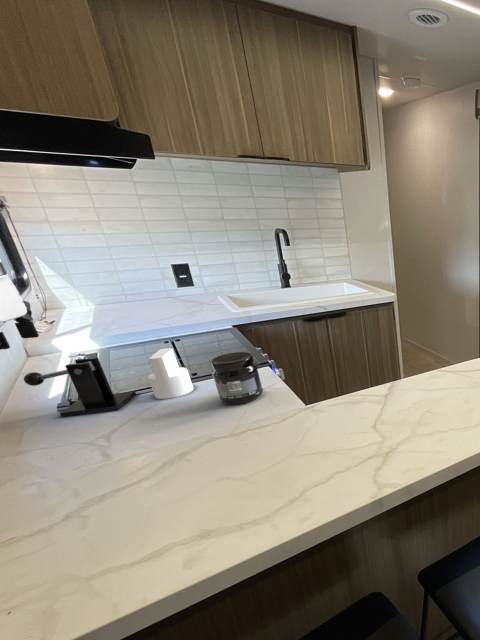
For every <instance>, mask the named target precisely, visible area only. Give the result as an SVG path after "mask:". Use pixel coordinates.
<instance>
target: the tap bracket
mask: <svg viewBox="0 0 480 640" xmlns="http://www.w3.org/2000/svg"><path fill="white" fill-rule="evenodd" d="M88 361H91V362H92V364H93V366H94V367H95V370H93V371H92V369H91V366H90V364H89V362H88ZM74 362H75V363H68V364H66V365H65V368H66V369H65V370H67V371H68V373H69V374H68V375H69V378H70V379H71V381H72V384H73V386H74V388H75V391H76V393H77V395H78V398H79V399H78V400H76V401H75V402H73V403H72V404H71V405H69V406H68V407H66V408H64V409H63V410H62V411H60V412H59V415H60V417H61V418H65V417H73V416H74V417H75V416H81V415H89V414H98V413H105V412H106V413H107V412H115V411H119V410H120V409H122V408H123V407H124V406H125V405H126V404H128V403H129V402H130V401H131V400H132V399H133V398H135V397H136V396H137V393H136V391H135V390H133V391H125V392H117V393H114V392H113V390H112V388H111V386H110V384H109V381H108V379H107V376H106V374H105V371H104V369H103V367H102V364H101V362H100V359H99V357H98V356H97V357H86V358H77V359H75V360H74ZM84 362H88V363H84Z"/></svg>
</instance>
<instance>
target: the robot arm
mask: <svg viewBox="0 0 480 640" xmlns="http://www.w3.org/2000/svg"><path fill="white" fill-rule="evenodd" d="M32 313H33V312H32V310H31V303H30V302H29V301H27V300H23V298H22V296H21V294H20V292H19V290H18V288H17V287H16V286H15V284H14V282H13V281H12V279H10V276H9V274H8V272H7V269H6V268H5V265H4V263H3V261H2V259H1V258H0V324H1V323H6V322H9V321H15V323H14V325H15V327H16V329H17V331H18V334H19V335H20V337H21V338H22V339H34V338H38V337H39V336H40V335H39V332H38V331H37V328H36V326H35V323H34V322H33V321H34V318H33V317H32ZM10 348H11V346H10V343H9V342H8V339H7V337H6V336H5V334H4V332H3V331H0V350H9V349H10Z"/></svg>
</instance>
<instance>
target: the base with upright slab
mask: <svg viewBox="0 0 480 640" xmlns="http://www.w3.org/2000/svg"><path fill="white" fill-rule="evenodd" d="M148 361H149V364H150V366H151V369H152V373H150V374H149V375H147V379H148V382H149V384H150V387H151V390H152V392H153V395H154V397H155V398H156V399H159V400H166V399H174V398H178V397H181V396H185V395H187V394H189V393H191V392H192V391H193V390H194V385H193V382H192V379H191V377H190V373H189V370H188V368H187V367H182V366H181V367H180V366H179V364H178V361H177V357H176V355H175V352H174V348H173V347H169V348H160V349H159V350H157V351H156V352H155V353H153V354H152V355H151V356H150V357H148Z"/></svg>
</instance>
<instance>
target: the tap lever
mask: <svg viewBox="0 0 480 640" xmlns="http://www.w3.org/2000/svg"><path fill="white" fill-rule="evenodd" d="M88 362H89V364H90V366H91V369H92V371H93V370H95V367H94V366H93V364H92V362H91V361H88ZM88 362H84V363H88ZM64 375H69V373H68V371H67V369H63V370H58V371H53V372H49V373H44V374H41V373H39V372H35V371H34V372H28V373H27V374H25V375H24V377H23V383H25V384H26V385H28V386H33V387H35V386H40V385H42V384H43V383H44V382H45V380H47V379H52V378H57V377H61V376H64Z"/></svg>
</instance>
